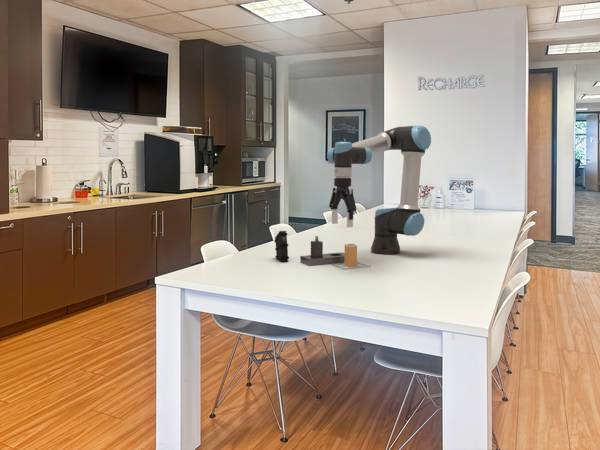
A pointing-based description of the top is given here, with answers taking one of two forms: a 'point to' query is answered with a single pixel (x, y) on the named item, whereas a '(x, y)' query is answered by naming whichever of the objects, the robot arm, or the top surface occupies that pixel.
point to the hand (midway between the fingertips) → (342, 225)
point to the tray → (350, 268)
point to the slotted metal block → (323, 259)
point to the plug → (350, 255)
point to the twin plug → (316, 248)
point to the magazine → (281, 246)
